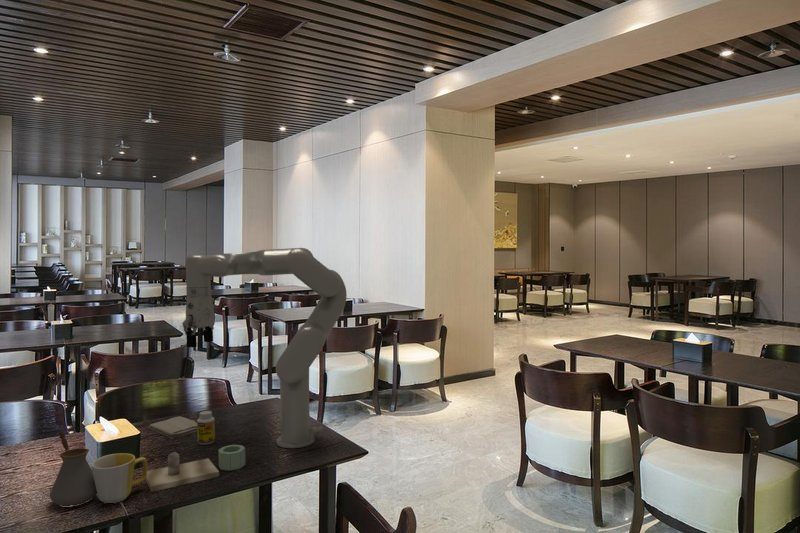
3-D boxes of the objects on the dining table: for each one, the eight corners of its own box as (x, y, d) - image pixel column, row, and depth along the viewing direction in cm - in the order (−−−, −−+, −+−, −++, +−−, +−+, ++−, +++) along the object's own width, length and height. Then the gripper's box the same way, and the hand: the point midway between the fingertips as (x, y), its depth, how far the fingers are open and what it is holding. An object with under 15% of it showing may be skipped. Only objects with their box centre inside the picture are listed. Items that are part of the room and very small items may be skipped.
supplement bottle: (196, 445, 188) (195, 415, 187) (199, 440, 193) (198, 410, 193) (213, 444, 189) (212, 414, 188) (216, 439, 194) (215, 409, 194)
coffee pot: (106, 501, 148) (103, 444, 147) (55, 515, 140) (52, 456, 140) (85, 476, 164) (83, 425, 163) (38, 488, 156) (36, 435, 156)
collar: (240, 459, 176) (240, 443, 175) (247, 466, 170) (247, 450, 169) (216, 464, 172) (216, 448, 172) (223, 472, 166) (222, 455, 165)
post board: (208, 463, 173) (207, 438, 172) (218, 476, 163) (218, 450, 162) (144, 476, 163) (143, 451, 163) (151, 492, 153) (150, 464, 153)
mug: (97, 512, 142) (96, 471, 141) (88, 498, 150) (87, 459, 149) (154, 496, 151) (153, 457, 150) (143, 483, 158) (142, 446, 158)
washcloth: (172, 441, 194) (172, 432, 194) (147, 430, 206) (146, 422, 206) (204, 431, 203) (203, 423, 203) (177, 422, 215) (177, 414, 215)
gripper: (193, 295, 176) (195, 349, 177) (223, 290, 193) (224, 340, 194) (172, 294, 178) (174, 349, 179) (203, 290, 195) (204, 339, 196)
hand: (200, 344), depth 186 cm, fingers open, 9 cm apart
